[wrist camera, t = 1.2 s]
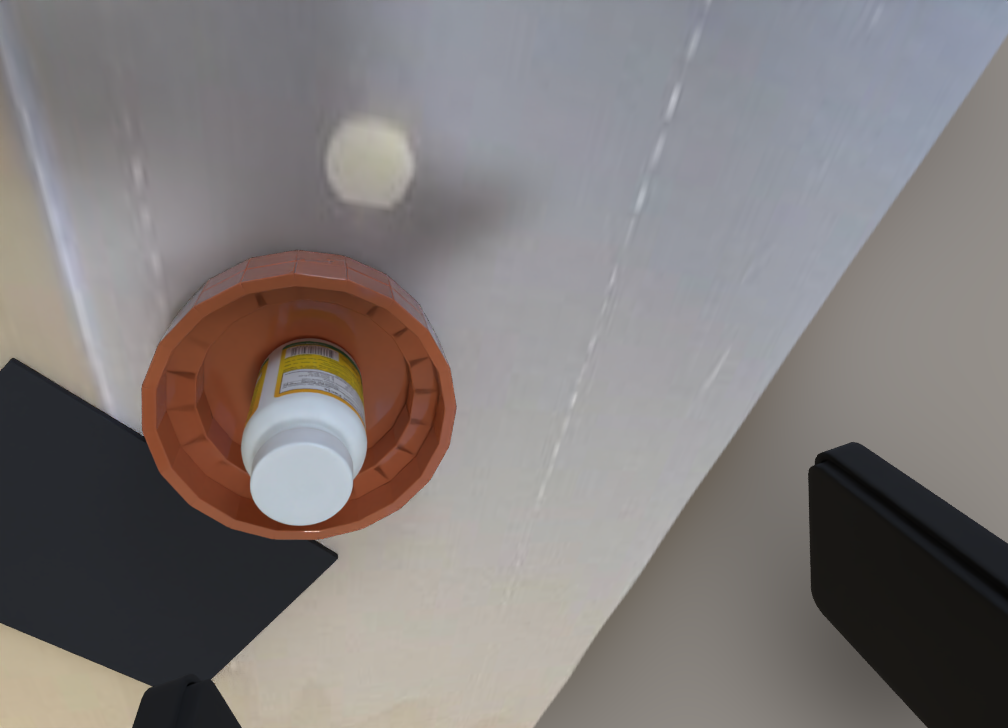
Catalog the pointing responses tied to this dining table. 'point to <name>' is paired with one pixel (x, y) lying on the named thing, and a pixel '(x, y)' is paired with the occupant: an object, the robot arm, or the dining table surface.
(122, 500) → the mat
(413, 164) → the dining table surface
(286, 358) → the supplement bottle
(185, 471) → the bowl
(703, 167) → the dining table surface
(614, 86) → the dining table surface
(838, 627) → the robot arm
